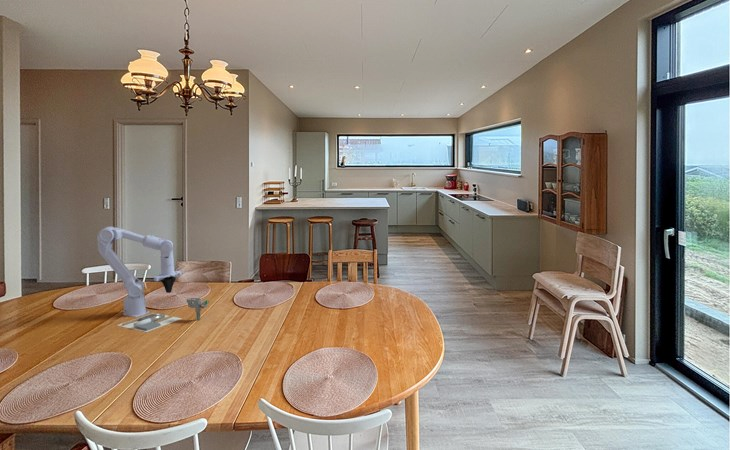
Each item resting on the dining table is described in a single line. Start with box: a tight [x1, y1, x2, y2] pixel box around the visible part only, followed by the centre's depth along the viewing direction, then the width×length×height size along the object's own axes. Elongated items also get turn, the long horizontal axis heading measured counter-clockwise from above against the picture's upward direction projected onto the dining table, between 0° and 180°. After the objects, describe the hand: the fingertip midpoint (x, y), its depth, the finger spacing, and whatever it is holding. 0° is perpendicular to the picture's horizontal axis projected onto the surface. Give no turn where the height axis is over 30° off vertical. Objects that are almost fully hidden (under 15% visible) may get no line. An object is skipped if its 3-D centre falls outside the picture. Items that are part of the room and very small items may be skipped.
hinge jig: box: [116, 312, 183, 333], centre depth 196 cm, size 19×19×3 cm
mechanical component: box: [186, 297, 210, 321], centre depth 199 cm, size 3×10×10 cm, turn 78°
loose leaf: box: [138, 313, 166, 322], centre depth 198 cm, size 8×7×2 cm
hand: (168, 292), depth 211 cm, fingers closed
